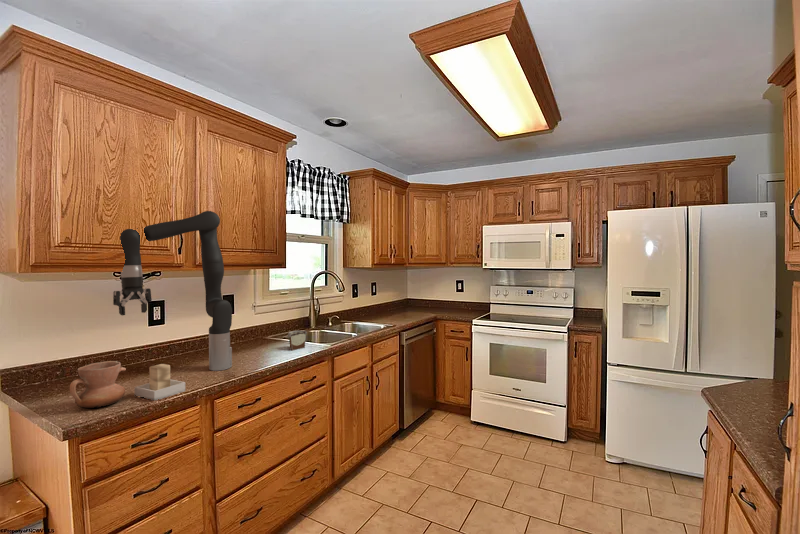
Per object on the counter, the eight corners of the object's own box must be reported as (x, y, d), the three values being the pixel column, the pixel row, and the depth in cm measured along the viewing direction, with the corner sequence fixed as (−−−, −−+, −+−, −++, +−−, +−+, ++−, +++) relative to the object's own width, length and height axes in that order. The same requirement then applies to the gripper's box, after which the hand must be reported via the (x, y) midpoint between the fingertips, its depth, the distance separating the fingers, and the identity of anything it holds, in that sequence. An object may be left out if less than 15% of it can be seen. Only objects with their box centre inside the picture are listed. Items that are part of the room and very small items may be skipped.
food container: (300, 346, 237) (299, 329, 237) (306, 347, 233) (306, 330, 233) (283, 349, 227) (283, 332, 227) (290, 351, 223) (289, 333, 223)
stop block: (162, 388, 155) (162, 363, 155) (170, 390, 153) (170, 365, 153) (149, 392, 151) (149, 366, 150) (157, 394, 148) (157, 368, 148)
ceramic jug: (114, 393, 152) (112, 357, 151) (138, 398, 146) (136, 360, 145) (58, 411, 135) (56, 370, 135) (82, 417, 129) (80, 374, 129)
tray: (165, 386, 160) (165, 378, 160) (185, 391, 155) (185, 382, 155) (134, 396, 149) (134, 387, 149) (154, 400, 144) (154, 391, 144)
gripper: (119, 276, 158) (120, 316, 159) (154, 275, 171) (155, 311, 172) (108, 277, 162) (110, 315, 162) (143, 275, 175) (145, 311, 175)
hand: (133, 313), depth 167 cm, fingers open, 8 cm apart
